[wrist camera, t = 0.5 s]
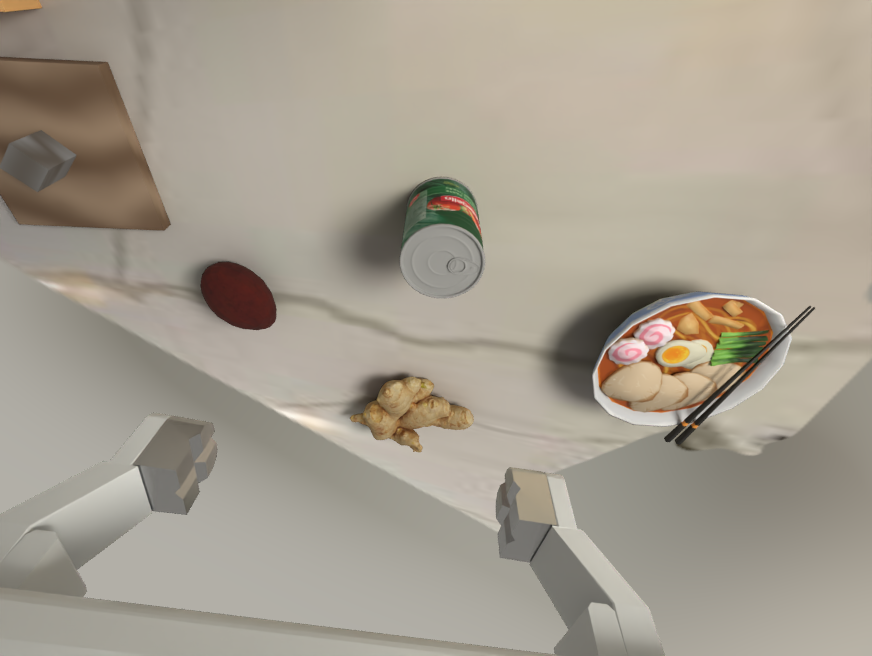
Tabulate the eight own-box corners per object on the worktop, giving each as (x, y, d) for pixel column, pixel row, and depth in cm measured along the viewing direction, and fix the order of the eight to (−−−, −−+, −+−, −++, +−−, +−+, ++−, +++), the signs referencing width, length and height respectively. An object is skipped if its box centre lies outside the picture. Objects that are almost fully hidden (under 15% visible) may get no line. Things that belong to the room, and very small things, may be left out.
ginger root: (329, 395, 66) (329, 436, 60) (414, 337, 64) (424, 372, 57) (392, 444, 75) (398, 484, 69) (469, 395, 73) (483, 431, 66)
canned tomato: (401, 236, 50) (393, 291, 42) (412, 169, 45) (405, 217, 37) (468, 248, 51) (472, 305, 43) (486, 184, 46) (495, 234, 38)
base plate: (-72, 53, 39) (-135, 64, 35) (107, 62, 39) (67, 74, 35) (29, 218, 49) (-10, 241, 45) (170, 224, 49) (145, 248, 45)
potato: (238, 240, 51) (217, 268, 46) (298, 299, 56) (284, 330, 52) (197, 267, 53) (173, 297, 49) (258, 321, 59) (242, 353, 54)
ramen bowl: (644, 229, 49) (673, 268, 43) (806, 279, 53) (854, 321, 47) (545, 374, 65) (556, 418, 58) (676, 404, 69) (700, 448, 62)
